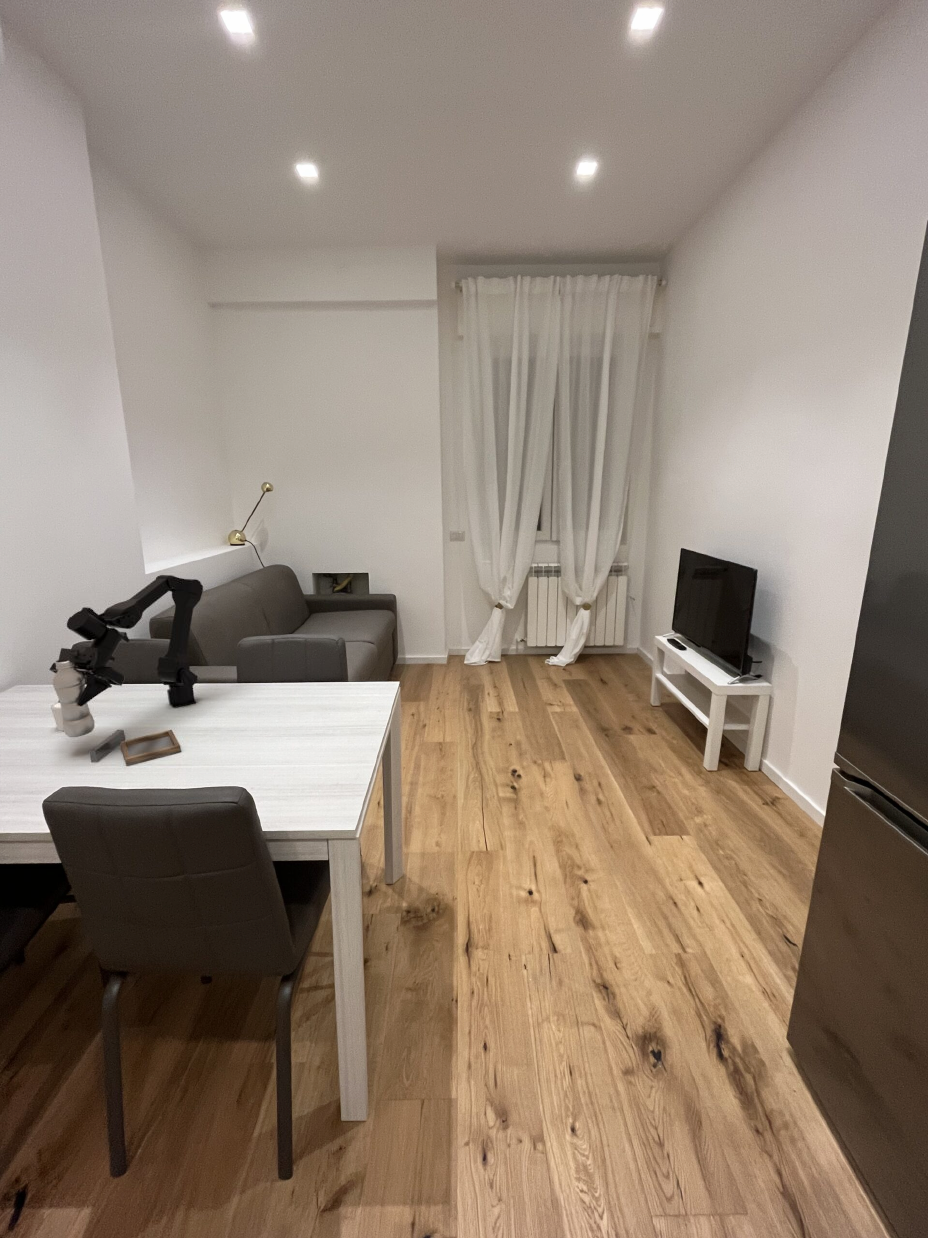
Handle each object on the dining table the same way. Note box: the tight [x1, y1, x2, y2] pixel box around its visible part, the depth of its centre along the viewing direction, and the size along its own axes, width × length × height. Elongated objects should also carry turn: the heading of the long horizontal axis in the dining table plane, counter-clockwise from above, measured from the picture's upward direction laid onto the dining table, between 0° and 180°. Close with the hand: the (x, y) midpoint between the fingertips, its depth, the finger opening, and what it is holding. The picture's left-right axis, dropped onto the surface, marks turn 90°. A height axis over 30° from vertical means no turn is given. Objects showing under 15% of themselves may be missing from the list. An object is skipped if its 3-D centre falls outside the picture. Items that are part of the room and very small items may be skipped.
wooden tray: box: [119, 729, 182, 767], centre depth 140 cm, size 12×12×2 cm
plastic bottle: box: [52, 659, 96, 738], centre depth 136 cm, size 6×7×20 cm
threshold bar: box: [88, 729, 126, 763], centre depth 140 cm, size 12×2×3 cm, turn 1°
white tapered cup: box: [50, 701, 64, 732], centre depth 153 cm, size 7×7×7 cm
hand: (69, 704), depth 135 cm, fingers closed on plastic bottle, 6 cm apart
